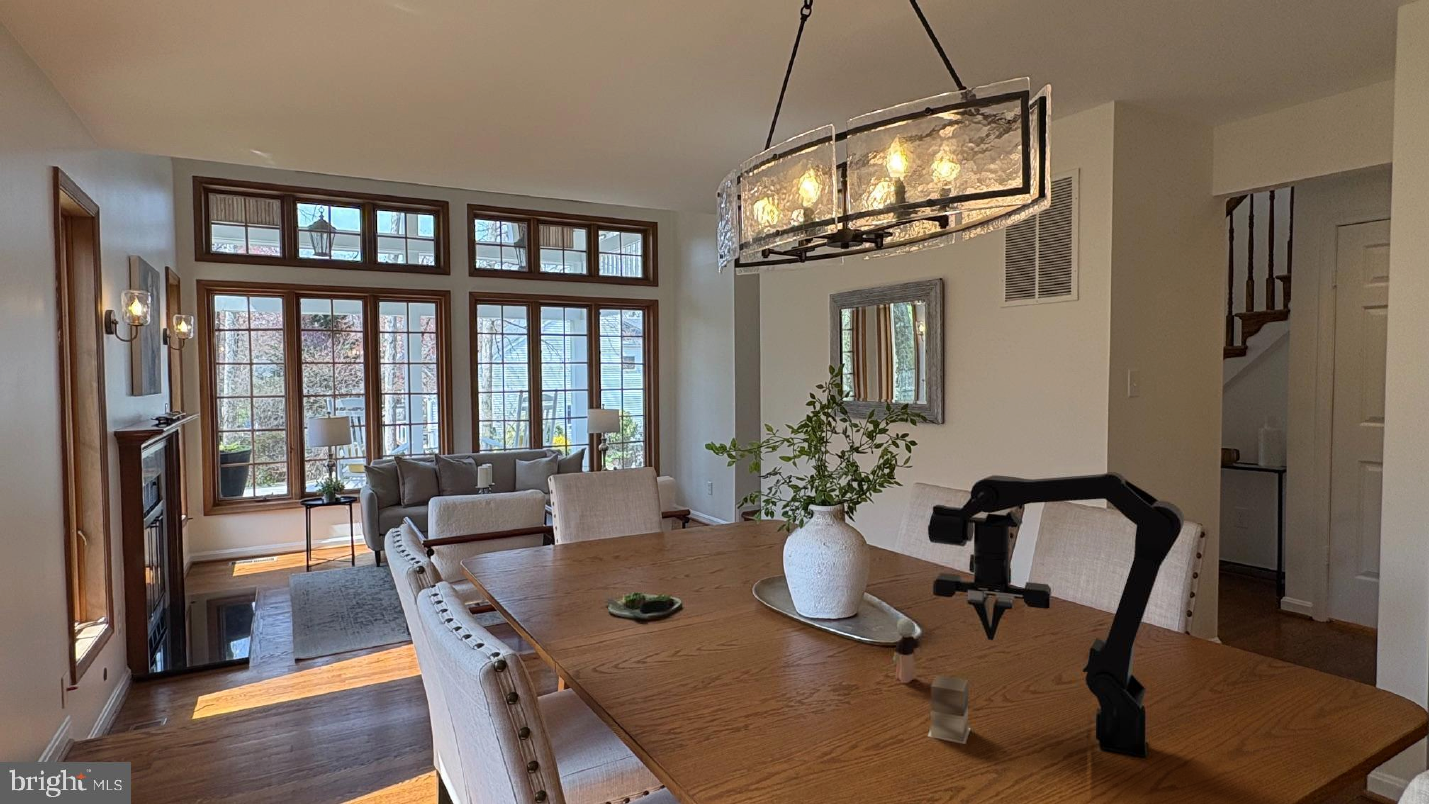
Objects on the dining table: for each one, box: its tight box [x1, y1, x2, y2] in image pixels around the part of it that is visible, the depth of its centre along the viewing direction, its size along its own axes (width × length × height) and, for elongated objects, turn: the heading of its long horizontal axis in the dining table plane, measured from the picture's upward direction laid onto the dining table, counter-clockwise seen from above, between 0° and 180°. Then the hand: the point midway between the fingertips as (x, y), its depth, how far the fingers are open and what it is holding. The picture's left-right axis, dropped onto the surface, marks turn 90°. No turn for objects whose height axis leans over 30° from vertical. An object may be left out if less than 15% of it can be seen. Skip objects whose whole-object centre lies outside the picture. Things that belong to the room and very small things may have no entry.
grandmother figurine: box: [892, 617, 921, 684], centre depth 145 cm, size 8×4×13 cm, turn 141°
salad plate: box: [604, 591, 683, 621], centre depth 193 cm, size 19×18×5 cm
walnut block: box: [930, 674, 969, 717], centre depth 124 cm, size 5×5×4 cm
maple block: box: [930, 705, 969, 742], centre depth 124 cm, size 5×5×4 cm
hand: (990, 639), depth 132 cm, fingers closed
